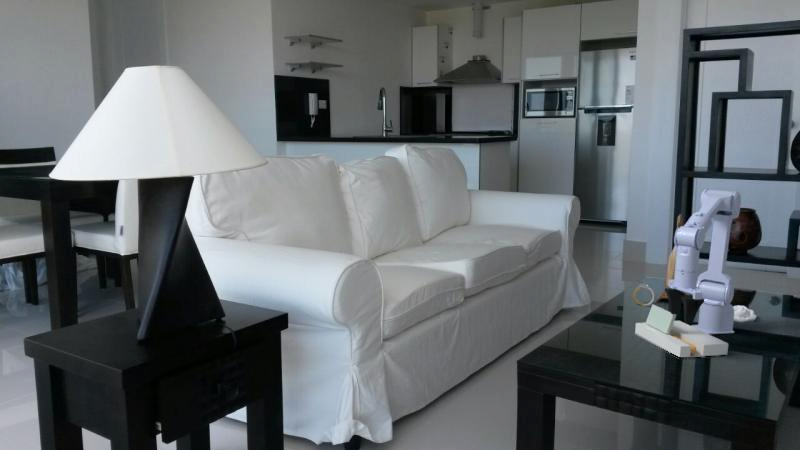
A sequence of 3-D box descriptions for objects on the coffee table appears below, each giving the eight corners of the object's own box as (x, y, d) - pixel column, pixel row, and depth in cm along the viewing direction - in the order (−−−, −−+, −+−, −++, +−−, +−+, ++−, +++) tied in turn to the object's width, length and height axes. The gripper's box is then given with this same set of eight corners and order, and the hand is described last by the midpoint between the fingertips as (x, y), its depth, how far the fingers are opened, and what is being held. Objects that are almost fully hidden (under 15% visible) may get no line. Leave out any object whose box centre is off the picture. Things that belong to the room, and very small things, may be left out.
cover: (655, 305, 192) (652, 304, 192) (676, 314, 182) (673, 314, 182) (648, 323, 192) (645, 323, 192) (669, 334, 183) (666, 333, 182)
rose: (761, 306, 212) (752, 312, 205) (760, 319, 213) (750, 325, 206) (729, 300, 219) (719, 305, 212) (728, 312, 220) (718, 318, 213)
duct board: (678, 331, 197) (679, 320, 196) (727, 355, 177) (728, 343, 176) (634, 334, 194) (635, 323, 193) (679, 358, 173) (680, 346, 173)
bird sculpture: (694, 300, 233) (702, 214, 228) (689, 308, 223) (698, 217, 218) (661, 296, 239) (669, 211, 234) (655, 303, 229) (663, 214, 224)
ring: (631, 305, 225) (633, 283, 224) (633, 303, 228) (635, 281, 227) (652, 308, 221) (654, 286, 220) (654, 306, 224) (656, 284, 223)
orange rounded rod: (661, 337, 186) (666, 342, 186) (688, 352, 174) (694, 357, 175) (666, 331, 186) (672, 335, 187) (694, 345, 174) (699, 350, 175)
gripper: (659, 264, 183) (655, 310, 185) (685, 276, 168) (681, 325, 171) (683, 264, 183) (679, 310, 185) (711, 276, 169) (706, 325, 171)
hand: (681, 317), depth 178 cm, fingers open, 7 cm apart
